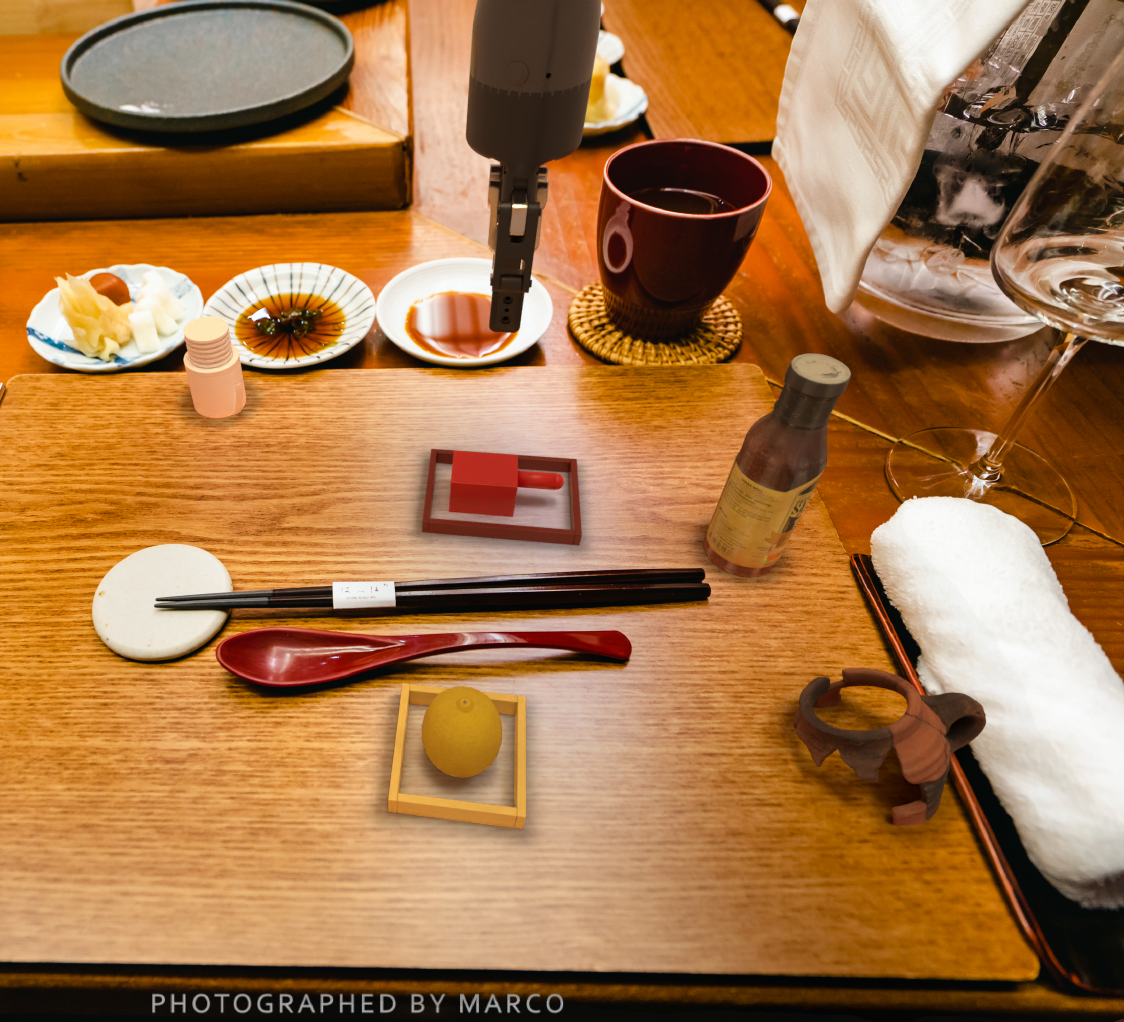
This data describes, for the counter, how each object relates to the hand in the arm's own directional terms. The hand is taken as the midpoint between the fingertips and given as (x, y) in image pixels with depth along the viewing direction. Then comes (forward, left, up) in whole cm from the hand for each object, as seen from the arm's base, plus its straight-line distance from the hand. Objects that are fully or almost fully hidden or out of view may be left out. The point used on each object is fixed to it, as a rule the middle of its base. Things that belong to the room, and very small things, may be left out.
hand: (504, 298), depth 61 cm
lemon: (+1, +27, -22) cm, 35 cm away
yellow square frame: (+1, +27, -22) cm, 35 cm away
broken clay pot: (-29, +23, -22) cm, 43 cm away
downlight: (+29, -12, -22) cm, 39 cm away
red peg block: (-2, 0, -22) cm, 22 cm away
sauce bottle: (-23, +4, -22) cm, 32 cm away
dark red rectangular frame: (-2, 0, -22) cm, 22 cm away
